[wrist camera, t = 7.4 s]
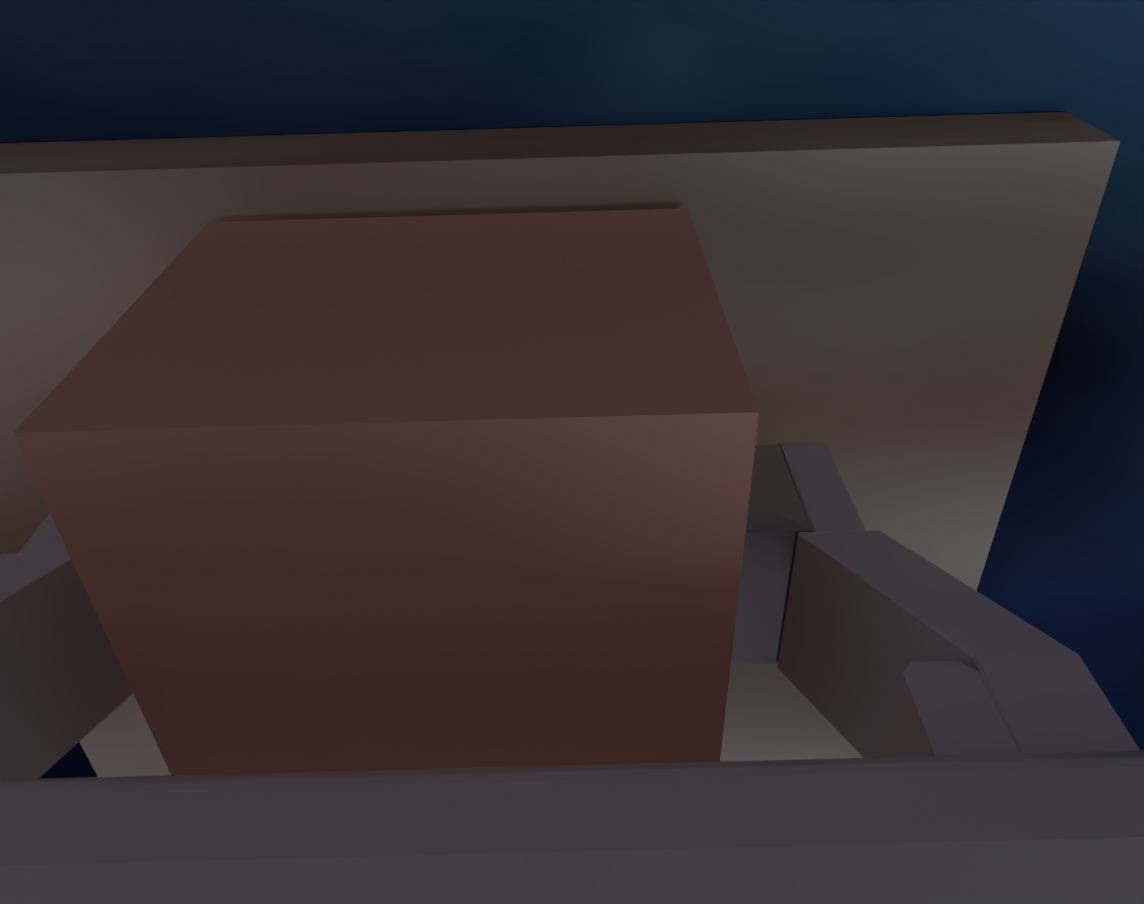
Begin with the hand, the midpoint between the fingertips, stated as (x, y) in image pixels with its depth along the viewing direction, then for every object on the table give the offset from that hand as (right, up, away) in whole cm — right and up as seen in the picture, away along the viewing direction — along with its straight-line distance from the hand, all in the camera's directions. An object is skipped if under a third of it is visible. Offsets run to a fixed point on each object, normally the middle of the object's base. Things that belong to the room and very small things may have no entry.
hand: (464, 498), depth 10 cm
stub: (0, +1, +1) cm, 1 cm away
